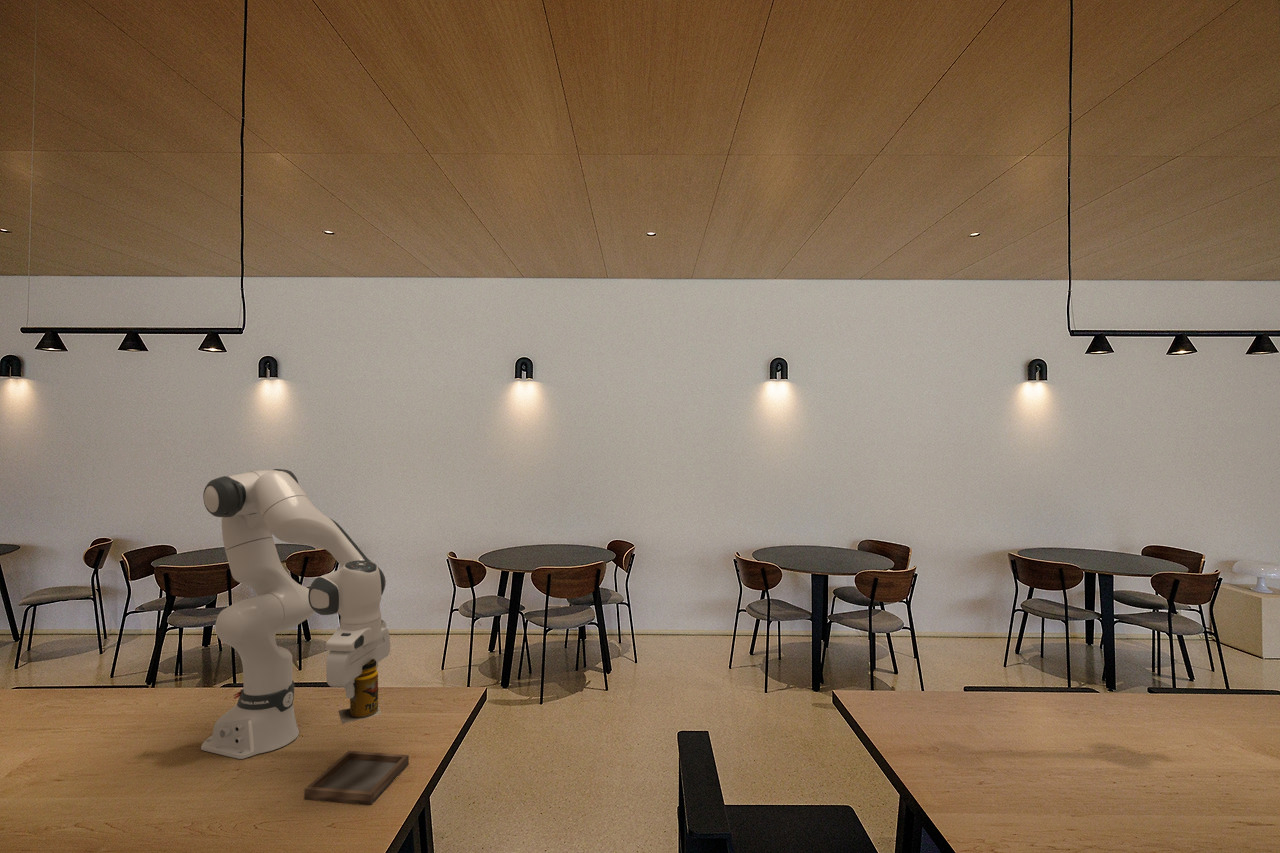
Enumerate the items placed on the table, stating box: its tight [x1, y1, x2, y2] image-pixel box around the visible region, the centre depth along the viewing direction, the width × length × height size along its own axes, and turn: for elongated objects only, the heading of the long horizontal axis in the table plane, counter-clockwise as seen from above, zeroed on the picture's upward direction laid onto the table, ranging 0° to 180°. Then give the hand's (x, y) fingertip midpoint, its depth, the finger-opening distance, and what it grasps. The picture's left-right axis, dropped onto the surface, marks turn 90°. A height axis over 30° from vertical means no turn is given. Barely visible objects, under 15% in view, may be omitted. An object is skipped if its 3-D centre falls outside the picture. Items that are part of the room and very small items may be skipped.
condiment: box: [337, 659, 383, 725], centre depth 140 cm, size 7×8×12 cm
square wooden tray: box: [303, 750, 410, 806], centre depth 139 cm, size 16×16×2 cm
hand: (360, 689), depth 140 cm, fingers closed on condiment, 6 cm apart
